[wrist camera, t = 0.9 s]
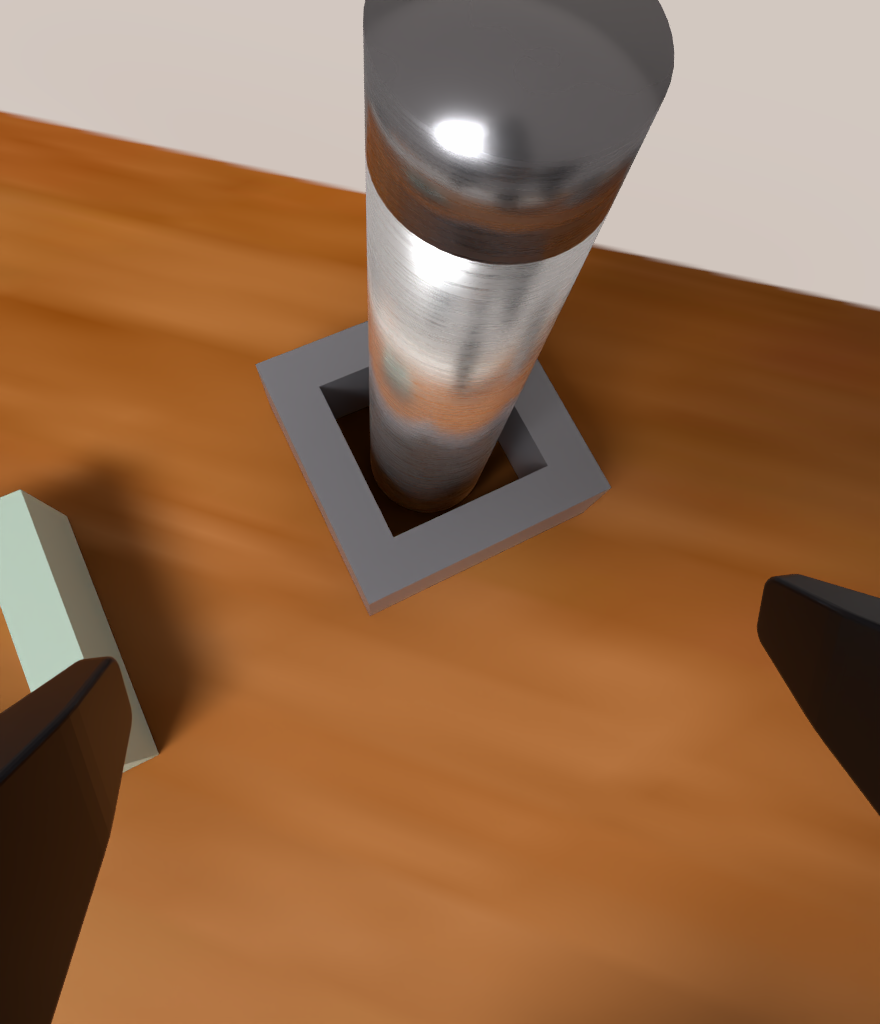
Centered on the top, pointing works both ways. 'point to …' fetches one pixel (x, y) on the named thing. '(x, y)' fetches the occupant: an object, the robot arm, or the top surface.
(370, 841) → the top surface
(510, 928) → the top surface
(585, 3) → the steel peg
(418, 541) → the charcoal socket
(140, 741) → the sage socket
